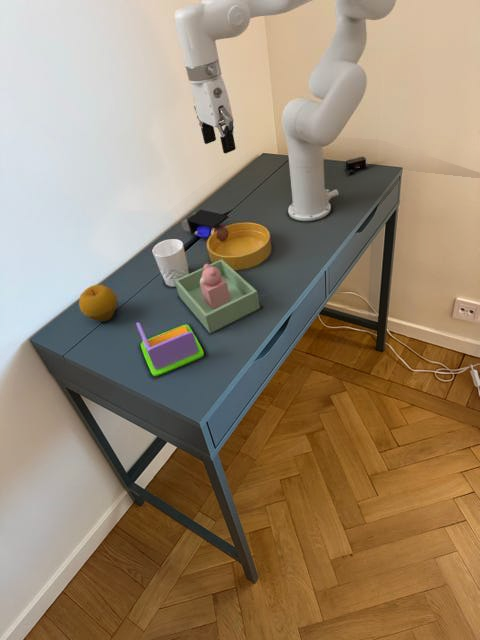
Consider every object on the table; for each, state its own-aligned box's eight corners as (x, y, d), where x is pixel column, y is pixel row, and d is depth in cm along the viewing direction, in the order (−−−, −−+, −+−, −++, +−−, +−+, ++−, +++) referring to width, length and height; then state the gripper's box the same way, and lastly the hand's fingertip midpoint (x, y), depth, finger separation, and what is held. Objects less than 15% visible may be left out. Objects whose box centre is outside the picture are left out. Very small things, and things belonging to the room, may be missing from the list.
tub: (225, 275, 120) (221, 259, 117) (260, 308, 108) (257, 291, 104) (179, 296, 116) (174, 280, 113) (210, 333, 104) (205, 316, 100)
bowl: (251, 229, 135) (249, 215, 132) (284, 253, 123) (282, 239, 120) (199, 252, 130) (196, 238, 127) (228, 279, 118) (225, 265, 115)
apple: (87, 311, 118) (73, 284, 112) (121, 301, 118) (109, 273, 113) (88, 333, 111) (73, 305, 105) (124, 322, 112) (111, 293, 106)
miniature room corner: (153, 378, 96) (143, 355, 92) (139, 344, 105) (130, 322, 100) (206, 356, 98) (199, 333, 94) (188, 324, 107) (181, 302, 103)
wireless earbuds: (342, 170, 154) (342, 161, 152) (363, 165, 155) (363, 156, 153) (348, 176, 151) (348, 166, 149) (368, 170, 151) (369, 161, 149)
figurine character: (185, 240, 139) (220, 248, 129) (176, 218, 134) (212, 223, 125) (200, 230, 142) (235, 236, 133) (192, 207, 138) (228, 212, 128)
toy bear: (222, 291, 114) (214, 258, 107) (230, 300, 110) (223, 266, 104) (202, 301, 112) (193, 267, 106) (211, 310, 109) (202, 276, 102)
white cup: (196, 271, 123) (187, 239, 117) (184, 289, 118) (175, 257, 111) (170, 269, 126) (160, 238, 119) (158, 287, 121) (146, 255, 114)
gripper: (237, 70, 97) (251, 149, 109) (200, 62, 109) (216, 133, 121) (207, 81, 95) (224, 161, 106) (172, 71, 107) (191, 143, 118)
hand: (219, 146), depth 114 cm, fingers open, 9 cm apart
